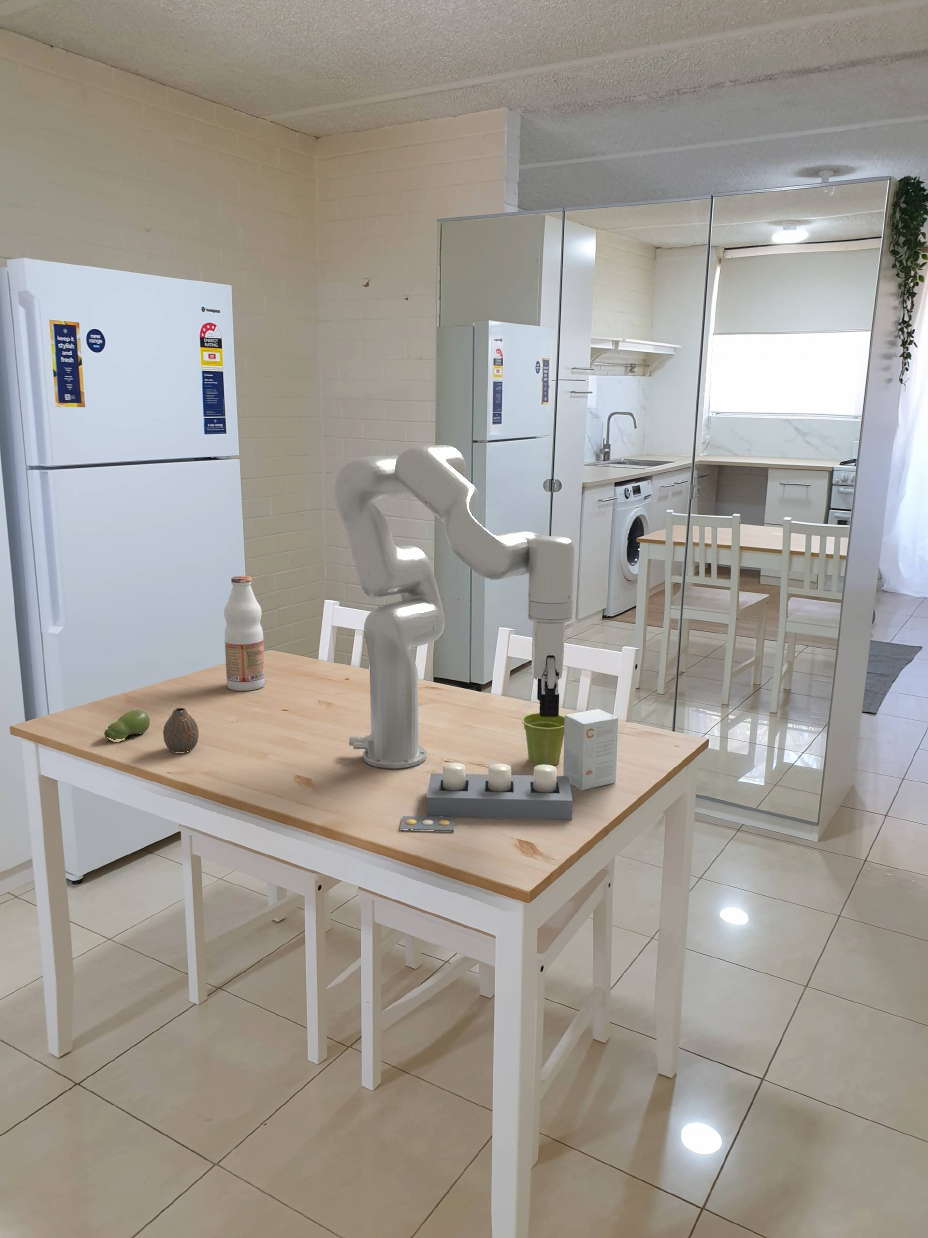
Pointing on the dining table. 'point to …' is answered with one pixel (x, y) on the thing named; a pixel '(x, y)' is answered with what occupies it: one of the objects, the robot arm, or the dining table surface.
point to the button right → (545, 778)
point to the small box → (590, 748)
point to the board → (499, 799)
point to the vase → (180, 731)
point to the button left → (454, 776)
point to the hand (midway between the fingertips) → (547, 707)
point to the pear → (128, 725)
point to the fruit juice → (243, 638)
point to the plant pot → (544, 738)
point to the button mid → (499, 777)
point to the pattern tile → (428, 823)
